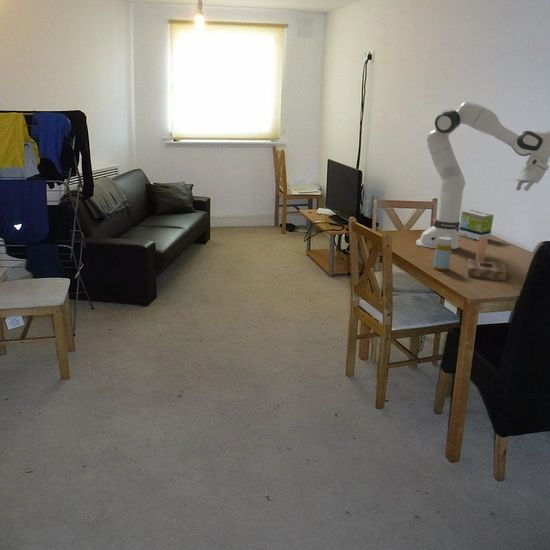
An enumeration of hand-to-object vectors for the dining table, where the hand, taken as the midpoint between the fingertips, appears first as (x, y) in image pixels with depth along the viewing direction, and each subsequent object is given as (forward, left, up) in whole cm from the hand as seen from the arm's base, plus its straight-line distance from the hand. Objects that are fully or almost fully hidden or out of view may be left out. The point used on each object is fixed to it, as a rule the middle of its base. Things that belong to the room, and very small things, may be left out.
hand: (521, 190), depth 275 cm
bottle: (-33, -32, -36) cm, 58 cm away
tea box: (-16, +42, -36) cm, 57 cm away
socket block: (-13, -31, -35) cm, 49 cm away
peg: (-15, -15, -35) cm, 41 cm away
